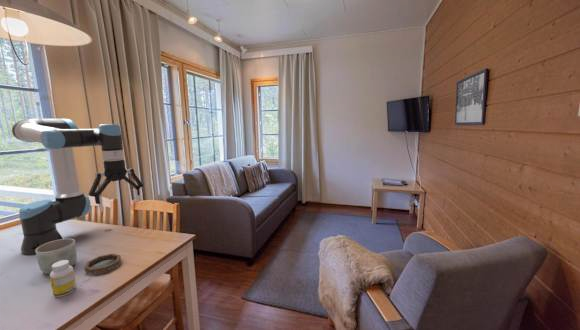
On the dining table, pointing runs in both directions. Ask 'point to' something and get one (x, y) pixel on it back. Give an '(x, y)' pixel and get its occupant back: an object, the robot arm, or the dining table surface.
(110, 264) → the holder
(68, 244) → the planter
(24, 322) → the dining table surface
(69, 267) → the pill bottle
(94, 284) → the dining table surface
